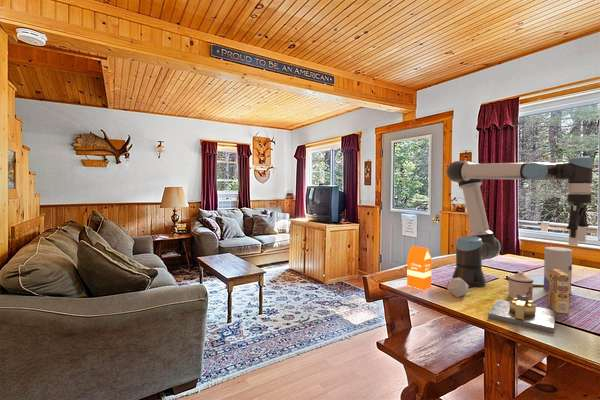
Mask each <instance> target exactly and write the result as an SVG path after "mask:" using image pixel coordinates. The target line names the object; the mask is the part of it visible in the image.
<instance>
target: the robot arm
mask: <svg viewBox="0 0 600 400" xmlns="http://www.w3.org/2000/svg"><path fill="white" fill-rule="evenodd" d="M593 170H594V166H593V158H592V157H590V156H574V157H572V156H571V157H569V158H568V161H566V162H540V161H532V162H498V163H497V162H496V163H494V162H493V163H478V162H476V161H473V160H469V161H468V160H467V161H465V160H457V161H456V160H455V161H453V162H451V163H449V165H447V168H446V176H447V178H448V179H449V180H450V181H452V182H455V183H457V185H458V188H460V189H461V190H462V192H463V193H462V194H463V197H464V203H465V206H466V213H467V217H468V221H469V226H470V227H469V228H470V231H471V232H470V234H469V235H466V236H460V237H458V238H456V242H455V243H456V244H455V251H456V252H455V257H456V258H455V268H454V272H453V274H452V277H451V279H453V278H458V277H459V278H461V279H462V280H464V281H465V282H466V283H467V284H468V285H469V286H468V287H473V288H474V287H476V288H479V287H481V288H482V287H484V286H485V285H486V278H485V276H484V275H485V274H484V272H483V268H482V265H483V261H484V260H491V259H493V258H495V257H497V256H499V254H500V252H501V249H502V247H501V246H502V245H501V242H500V241H499V240H498V239H497V238H496V237H495V234H494V232H493V231H492V230H490V226H489V223H488V219H487V212H486V208H485V207H486V206H485V203H484V199H483V194H482V190H481V186H482V184H483V180H525V181H526V180H527V181H528V180H530V181H558V180H559V181H561V180H562V181H566V180H567V193H568V194H567V196H566V197H567V198H566V201H567V203H569V204H573V205H570V212H569V219H568V224H567V225H568V226H567V227H566V230H568V245H569V246H573V247H578V245H579V244H578V243H579V242H580V243H581V242H582V243H586V235H587V228H589V224H588V216H587V204H590V203H592V195H591V193H592V189H594V185H592V183H593V182H592V181H593Z"/></svg>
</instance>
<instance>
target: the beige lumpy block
mask: <svg viewBox="0 0 600 400" xmlns="http://www.w3.org/2000/svg"><path fill="white" fill-rule="evenodd" d="M509 302H510V310H511V311H512V312H515V318H518V319H522V320H524V317H525V315H535V314H536V307H537V306H536V305H535V304H534V301H533V300H532V301H528V304H526V305H525V303H526V301H520V300H517V298H513V299H512V300H509Z"/></svg>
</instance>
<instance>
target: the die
mask: <svg viewBox="0 0 600 400" xmlns="http://www.w3.org/2000/svg"><path fill="white" fill-rule="evenodd" d="M469 287H470V286H469V285H468V284H467V283H466V282H465V281H464V280H462V279H461V278H459V277H458V278H453V279H452V278H451V279H450V280H449V281H448V284H447V290H448V291H449V292H450V293H451V294H452V295H453V296H455V297H456V298H460V297H463V296H465V295H466V294H468V292H469Z"/></svg>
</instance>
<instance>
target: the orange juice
mask: <svg viewBox="0 0 600 400" xmlns="http://www.w3.org/2000/svg"><path fill="white" fill-rule="evenodd" d="M406 258H407V261H406V263H407V265H406V267H407V268H406V275H407V276H406V286H407V285H409V286H412V287H416V288H419V289H422V290H421V291H423V290H424V291H426V290H428V289H427V288H429V289H431V288H432V257H431V254H430V250H429V248H427V247H420V246H416V245H415V246H414V245H411V247H410V250H409V252H408V255H407V257H406ZM430 287H431V288H430ZM419 289H418V290H419ZM425 289H426V290H425Z"/></svg>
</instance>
